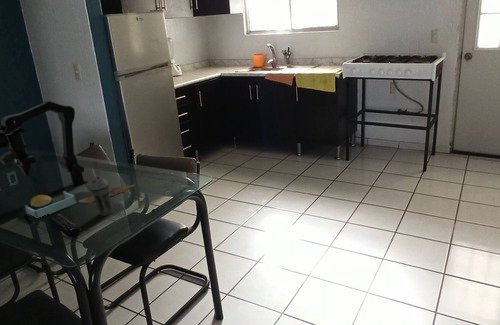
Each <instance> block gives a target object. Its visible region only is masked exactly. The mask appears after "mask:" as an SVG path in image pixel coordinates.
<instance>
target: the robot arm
mask: <svg viewBox="0 0 500 325" xmlns="http://www.w3.org/2000/svg"><path fill="white" fill-rule="evenodd" d="M48 111H51V112H53V113H56V114H57V117H58V119H59V122H60V123H61V131H62V132H61V135H62V149H63V152H62V153H63V154H62V156H59V158H58V159H59V165H60V167H61V169H62V170H64V171H66V172H67V173H69V175H70V176H69V177H70V180H71V182H70V183H69V185H70V186H73V187H78V186H81V185H84V184H86V183H88V181H87V180H85V179H84V174H83V173H84V172H85V167H84V166H82V165H80V164H79V163H78V159H77V157H76V154H75V150H74V149H75V148H74V135H73V134H74V133H73V131H74V130H73V123H74V121H75V115H76V111H75V108H74V107H72V106H71V105H62V104H60V103H59V104H58V103H56V102H53V101H51V100H46V101H44V102H42V103H40V104H38V105H36V106H33V107H31V108H29V109H27V110H24V111H22V112H19V113H14V114H10V115H6V116H4V117H2V118H1V121H0V124H1V125H0V149H3V148H7V147H8V145H9V147H8V151H7V152H5V153H4V154H2V155H0V162H1V163H2V165H4V166H7V165H10V163H11V162H13V161H14V162H13V164H14V165H16V166H18V167H19V169H20V170H21V171H22V173H23V175H24V176H25V177H29V175H30V171H31V166H32V164H35V163H37V162H38V160H37V157H35V156H33V155H30V153H29V152H28V151H27V147H28V146H27V144H25V140H24V137H23V136H22V133H25V132H26V131H27V130H26V129H24V128H22V126H23V125H24V124H25V123H27V122H28V121H30V120H32V119H34V118H36V117H38V116H40V115H43V114H45V113H47V112H48Z"/></svg>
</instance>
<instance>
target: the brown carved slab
mask: <svg viewBox="0 0 500 325" xmlns="http://www.w3.org/2000/svg"><path fill="white" fill-rule="evenodd" d="M134 186H135V184H132V185H131V184H130V185H125V186H119V187H113V188H109V196H110V197H113V196H117V195H119V194H123V193H125V192H127V191H128V190H129V189H131V188H132V187H134ZM93 202H96V201H95V199H94V196H93V194H91V195H89V196H86V197H84V198H82V199H80V200H78V202H77V203H79V204H80V203H81V204H91V203H93Z"/></svg>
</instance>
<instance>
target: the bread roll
mask: <svg viewBox="0 0 500 325" xmlns="http://www.w3.org/2000/svg"><path fill="white" fill-rule="evenodd" d="M52 200H53V199H52V197H51V196H49V195H46V194H38V195H34V197H32V198H31V199H30V205H31V207H33V206H34V207H33V208H40V207H46V206H48V205H50V204H51V202H52Z"/></svg>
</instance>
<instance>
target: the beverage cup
mask: <svg viewBox="0 0 500 325" xmlns="http://www.w3.org/2000/svg"><path fill="white" fill-rule="evenodd" d="M91 171H92V173H93V175H94V178H93V179H92V180H91V181H90V183H89V190H90V193H91V195H93V196H94V199H95V201H94V202H95V203H96V207H97V209H98V212H99V214H100V216H101V217H102V216H103V217H104V216H108V215H110V214H112V204H111V196H109V189H110V185H109V182H108V181H107V179H105V178H104V177H100V176H97V175H96V173H95V170H94V168H93V167H92V168H91Z"/></svg>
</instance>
